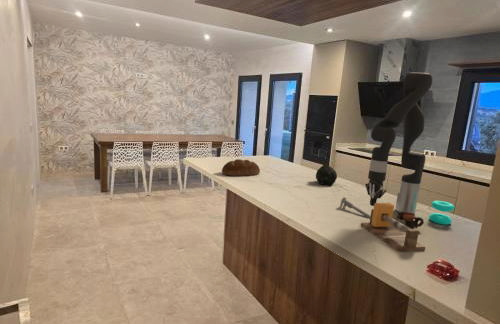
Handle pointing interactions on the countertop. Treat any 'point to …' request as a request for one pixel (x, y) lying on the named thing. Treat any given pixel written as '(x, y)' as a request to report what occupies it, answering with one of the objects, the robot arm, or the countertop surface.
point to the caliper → (350, 205)
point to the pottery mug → (410, 219)
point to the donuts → (441, 217)
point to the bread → (240, 168)
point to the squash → (326, 175)
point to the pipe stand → (395, 234)
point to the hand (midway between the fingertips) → (372, 205)
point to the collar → (377, 213)
